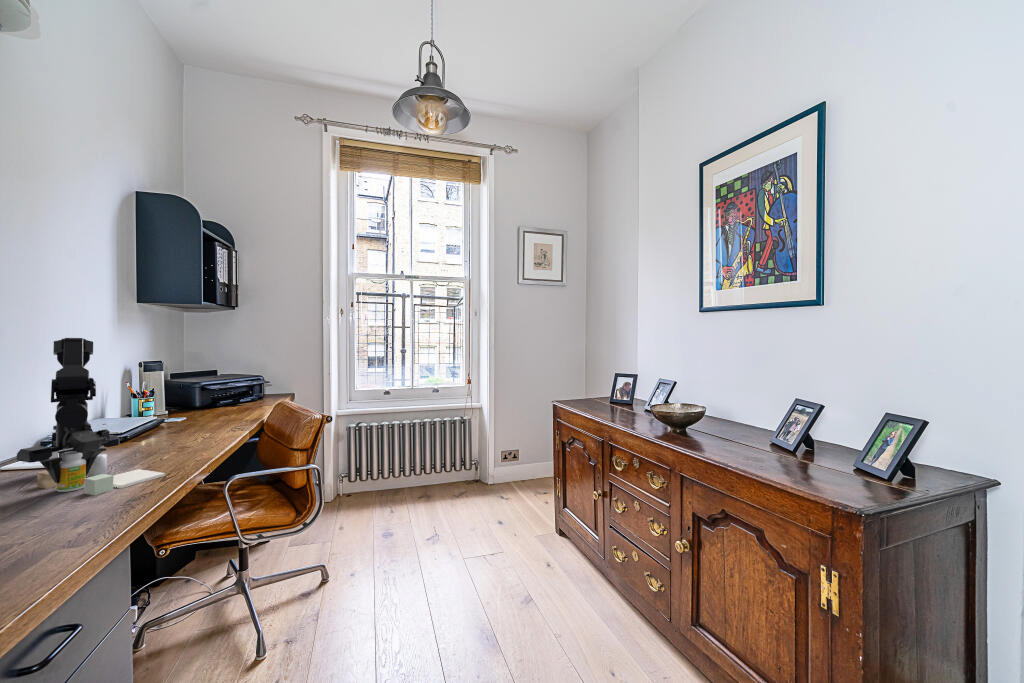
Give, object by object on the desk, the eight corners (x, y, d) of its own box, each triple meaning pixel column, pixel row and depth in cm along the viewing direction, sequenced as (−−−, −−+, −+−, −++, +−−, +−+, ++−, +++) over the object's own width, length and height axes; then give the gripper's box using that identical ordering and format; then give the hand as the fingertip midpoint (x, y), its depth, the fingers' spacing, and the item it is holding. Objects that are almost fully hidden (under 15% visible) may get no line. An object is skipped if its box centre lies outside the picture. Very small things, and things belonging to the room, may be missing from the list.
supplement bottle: (66, 493, 110) (67, 456, 109) (50, 491, 111) (51, 454, 111) (91, 486, 115) (91, 450, 115) (75, 484, 116) (76, 449, 116)
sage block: (84, 493, 110) (84, 478, 110) (102, 488, 114) (103, 473, 114) (94, 495, 109) (94, 480, 109) (113, 490, 112) (113, 475, 112)
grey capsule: (84, 477, 122) (84, 456, 122) (101, 473, 125) (101, 453, 125) (93, 479, 121) (93, 458, 120) (110, 474, 124) (110, 454, 124)
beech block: (37, 487, 114) (37, 472, 114) (56, 482, 117) (57, 468, 117) (46, 489, 112) (47, 474, 112) (66, 484, 116) (66, 469, 116)
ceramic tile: (93, 483, 117) (93, 480, 117) (138, 471, 127) (138, 469, 127) (121, 488, 114) (121, 485, 114) (164, 475, 124) (164, 473, 124)
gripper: (44, 430, 101) (43, 495, 101) (133, 417, 119) (132, 472, 119) (15, 427, 104) (14, 489, 105) (106, 414, 122) (105, 468, 122)
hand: (71, 479), depth 113 cm, fingers closed on supplement bottle, 5 cm apart
